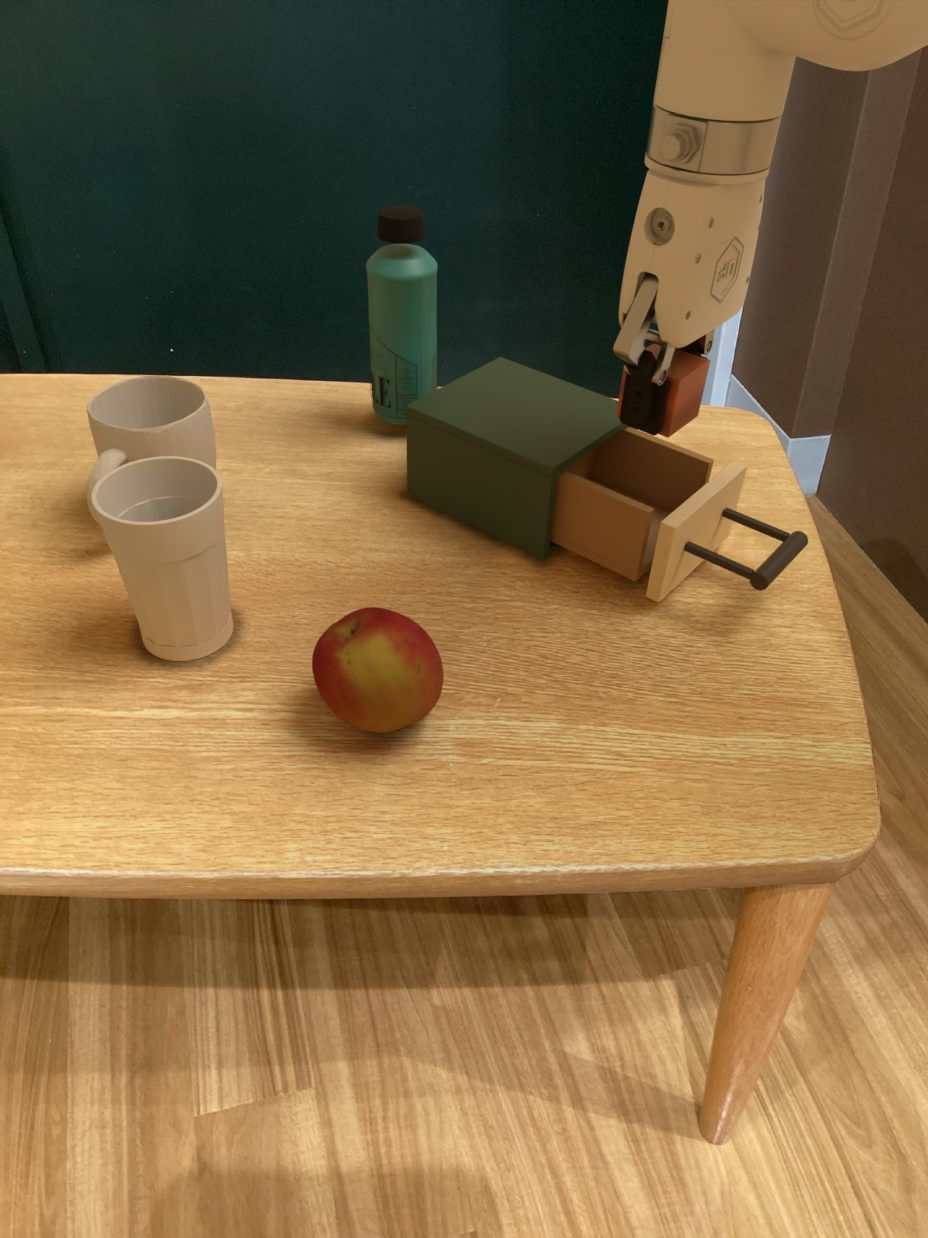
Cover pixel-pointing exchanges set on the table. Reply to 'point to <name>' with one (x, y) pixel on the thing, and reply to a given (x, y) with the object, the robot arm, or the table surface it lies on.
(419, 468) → the cabinet
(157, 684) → the table surface
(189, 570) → the cup
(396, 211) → the beverage bottle
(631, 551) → the drawer
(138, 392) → the mug
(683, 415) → the block
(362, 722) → the apple
